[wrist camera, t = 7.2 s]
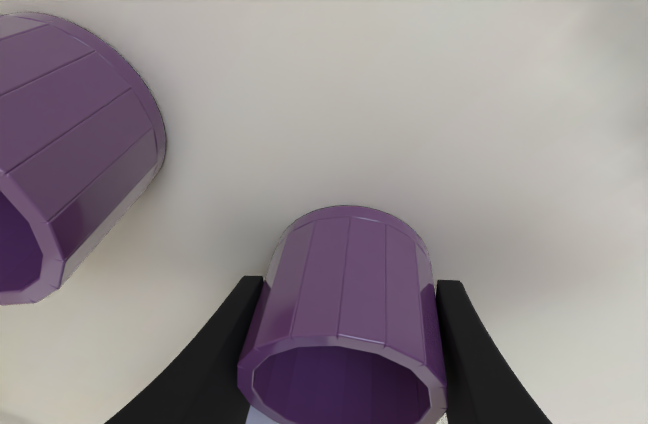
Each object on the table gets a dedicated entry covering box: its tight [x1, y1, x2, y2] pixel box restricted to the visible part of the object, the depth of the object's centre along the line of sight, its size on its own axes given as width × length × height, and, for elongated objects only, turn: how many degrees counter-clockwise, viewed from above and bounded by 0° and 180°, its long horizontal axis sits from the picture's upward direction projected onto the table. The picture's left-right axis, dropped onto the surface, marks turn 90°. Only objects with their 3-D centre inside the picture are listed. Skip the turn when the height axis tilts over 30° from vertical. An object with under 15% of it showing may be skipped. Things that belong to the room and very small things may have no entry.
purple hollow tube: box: [237, 206, 449, 424], centre depth 11 cm, size 5×5×5 cm
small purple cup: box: [0, 12, 166, 305], centre depth 9 cm, size 5×5×5 cm
